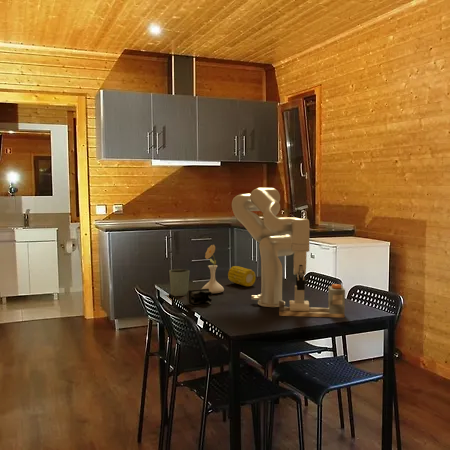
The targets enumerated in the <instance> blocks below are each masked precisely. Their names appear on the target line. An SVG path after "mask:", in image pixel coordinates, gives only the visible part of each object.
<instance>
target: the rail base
mask: <svg viewBox="0 0 450 450" xmlns="http://www.w3.org/2000/svg"><path fill="white" fill-rule="evenodd" d="M327 294H328V296H327V301H328V302H327V303H328V304H327V307H313V306H311V307H310V306H309V311H292V310H290V306H285V305H284V302H285V301H284V300H282V301H279V307H278V316H280V317H282V316H283V317H284V316H286V317H308V318H309V317H313V318H316V317H317V318H345V313H346V312H345V311H346V307H345V306H346V305H345V303H346V302H345V301H346V289H345V288H344V287H343V285H342V287H341V289H334V288H332V285H328V293H327Z"/></svg>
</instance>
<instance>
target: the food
mask: <svg viewBox="0 0 450 450" xmlns="http://www.w3.org/2000/svg"><path fill="white" fill-rule="evenodd" d="M227 272H228V273H227V276H228V277H227V278H228V280H229V281H230V282H231V283H234V284H236V285H241V286H243V287H246V288H247V287H252V286H253V285H254V284H255V282H256V278H257V277H256V273H255V271H253V270H252V269H250V268H246V267H242V266H238V265H233V266H231V267H230V268H229V270H228V271H227Z"/></svg>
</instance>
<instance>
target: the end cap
mask: <svg viewBox="0 0 450 450" xmlns="http://www.w3.org/2000/svg"><path fill="white" fill-rule="evenodd" d="M212 295H213V293H211V292H210V291H209V289H202V288H200V289H188V292H187V295H186V299H187V303H188V304H189V305H190V306H192V307H202V306H211V305H212V303H211V302H213V301H212V299H213V298H212V297H210V296H212Z"/></svg>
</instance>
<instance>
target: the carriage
mask: <svg viewBox="0 0 450 450" xmlns="http://www.w3.org/2000/svg"><path fill="white" fill-rule="evenodd" d="M289 307H290V310H292V311H309V307H310V302H309V300H305V290H297V285H296V284H295V285H294V300H293V299H292V300H289Z"/></svg>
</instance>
